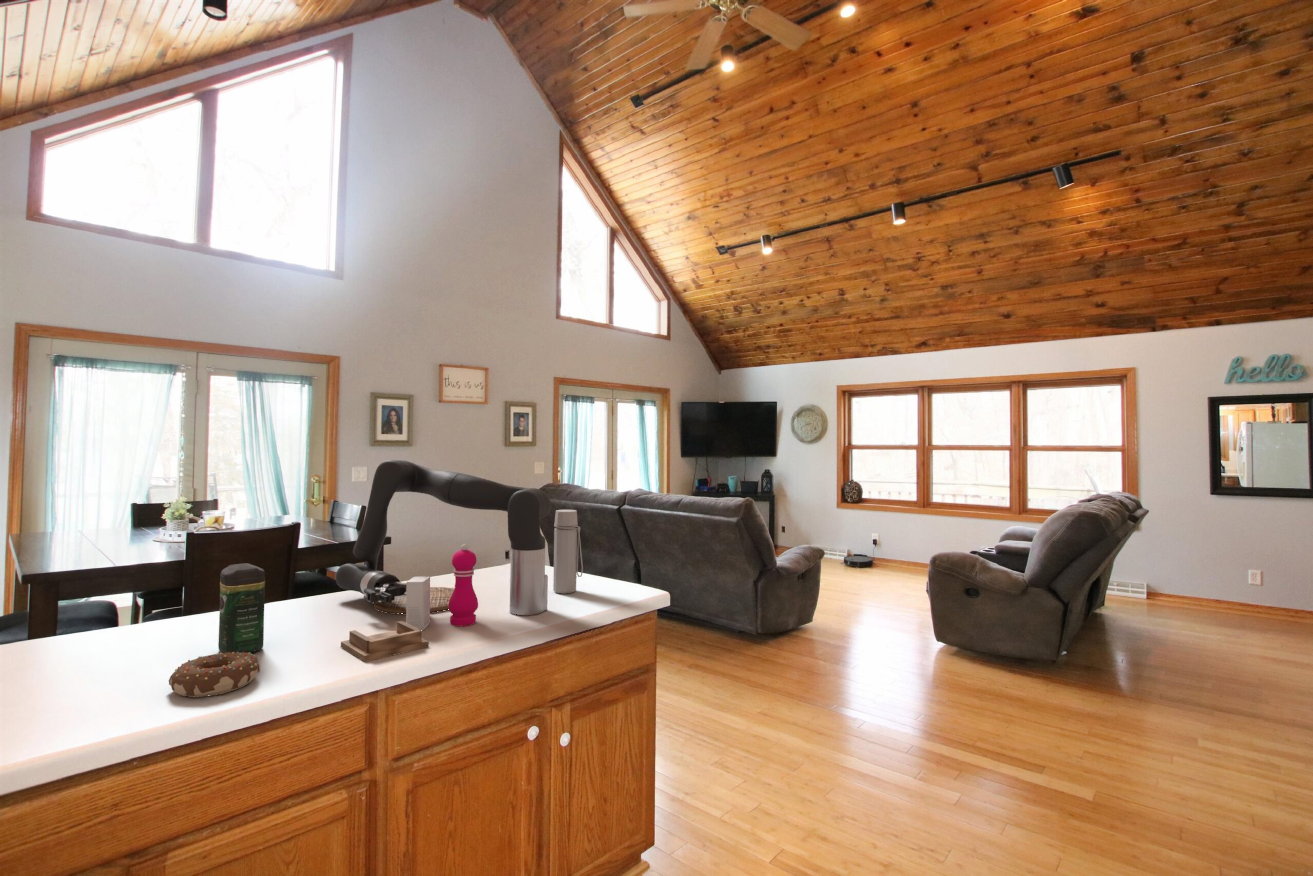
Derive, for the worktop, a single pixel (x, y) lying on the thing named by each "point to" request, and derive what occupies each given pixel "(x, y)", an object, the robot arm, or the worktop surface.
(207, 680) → the donut
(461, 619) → the pepper mill
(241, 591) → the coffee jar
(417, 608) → the skincare box
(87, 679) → the worktop surface
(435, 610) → the trivet
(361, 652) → the u rest
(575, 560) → the water bottle
